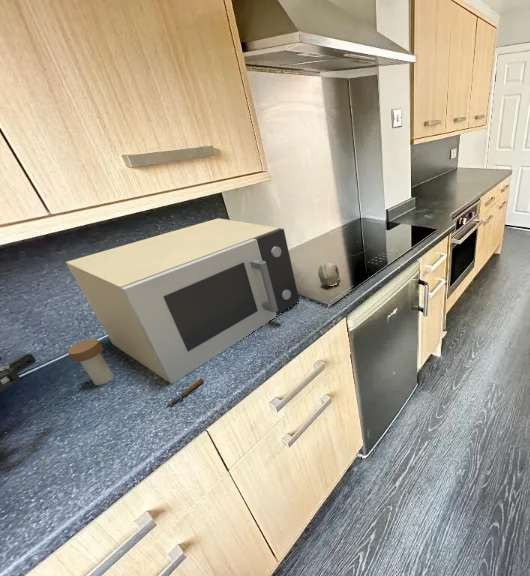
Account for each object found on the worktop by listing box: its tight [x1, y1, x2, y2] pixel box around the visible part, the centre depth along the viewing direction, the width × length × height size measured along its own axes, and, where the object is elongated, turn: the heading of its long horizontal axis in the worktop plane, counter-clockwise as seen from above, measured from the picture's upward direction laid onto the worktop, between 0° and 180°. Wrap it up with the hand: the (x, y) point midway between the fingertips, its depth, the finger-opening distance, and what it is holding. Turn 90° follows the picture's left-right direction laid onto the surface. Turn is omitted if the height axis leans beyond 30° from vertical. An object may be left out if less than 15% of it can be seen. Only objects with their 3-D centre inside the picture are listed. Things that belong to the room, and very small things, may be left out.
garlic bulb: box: [317, 261, 340, 287], centre depth 120 cm, size 9×8×10 cm
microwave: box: [65, 217, 300, 383], centre depth 97 cm, size 35×44×27 cm
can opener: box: [165, 378, 204, 408], centre depth 75 cm, size 9×2×1 cm, turn 149°
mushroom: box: [67, 338, 115, 386], centre depth 79 cm, size 6×6×11 cm
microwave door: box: [121, 239, 278, 385], centre depth 84 cm, size 7×34×27 cm, turn 148°
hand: (14, 356), depth 64 cm, fingers open, 8 cm apart
